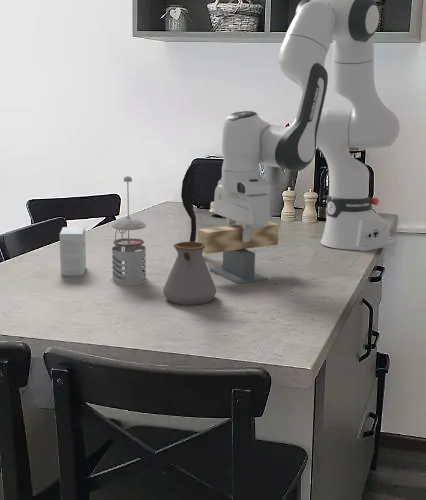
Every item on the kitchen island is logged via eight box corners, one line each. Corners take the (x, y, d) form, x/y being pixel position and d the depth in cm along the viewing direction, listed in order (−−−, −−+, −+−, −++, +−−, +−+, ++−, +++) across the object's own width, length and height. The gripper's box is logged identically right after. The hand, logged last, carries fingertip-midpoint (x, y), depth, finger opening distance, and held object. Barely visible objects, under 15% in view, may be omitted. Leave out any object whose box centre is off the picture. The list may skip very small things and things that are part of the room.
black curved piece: (194, 258, 199) (194, 164, 193) (180, 257, 200) (181, 163, 194) (202, 251, 207) (203, 160, 201) (189, 250, 207) (189, 160, 201)
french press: (116, 289, 171) (114, 180, 165) (100, 276, 181) (97, 173, 175) (156, 284, 175) (156, 177, 169) (138, 272, 185) (136, 171, 179)
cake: (242, 211, 266) (242, 196, 265) (228, 215, 258) (228, 200, 257) (218, 207, 271) (218, 193, 270) (203, 212, 263) (203, 197, 262)
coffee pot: (165, 294, 168) (165, 228, 164) (217, 295, 167) (217, 229, 164) (155, 326, 147) (155, 252, 143) (214, 328, 147) (215, 253, 143)
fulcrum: (237, 268, 190) (238, 241, 188) (267, 282, 178) (268, 253, 176) (210, 272, 186) (210, 244, 184) (238, 286, 174) (239, 257, 172)
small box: (63, 267, 188) (62, 226, 186) (86, 267, 189) (85, 226, 186) (60, 276, 181) (58, 233, 178) (83, 276, 181) (82, 233, 179)
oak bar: (268, 241, 187) (269, 221, 185) (277, 244, 183) (278, 224, 182) (198, 250, 177) (198, 229, 176) (206, 253, 174) (206, 232, 172)
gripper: (207, 176, 184) (207, 231, 187) (251, 189, 166) (249, 249, 170) (230, 175, 187) (229, 229, 190) (275, 187, 169) (273, 246, 172)
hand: (239, 239), depth 180 cm, fingers closed on oak bar, 4 cm apart
